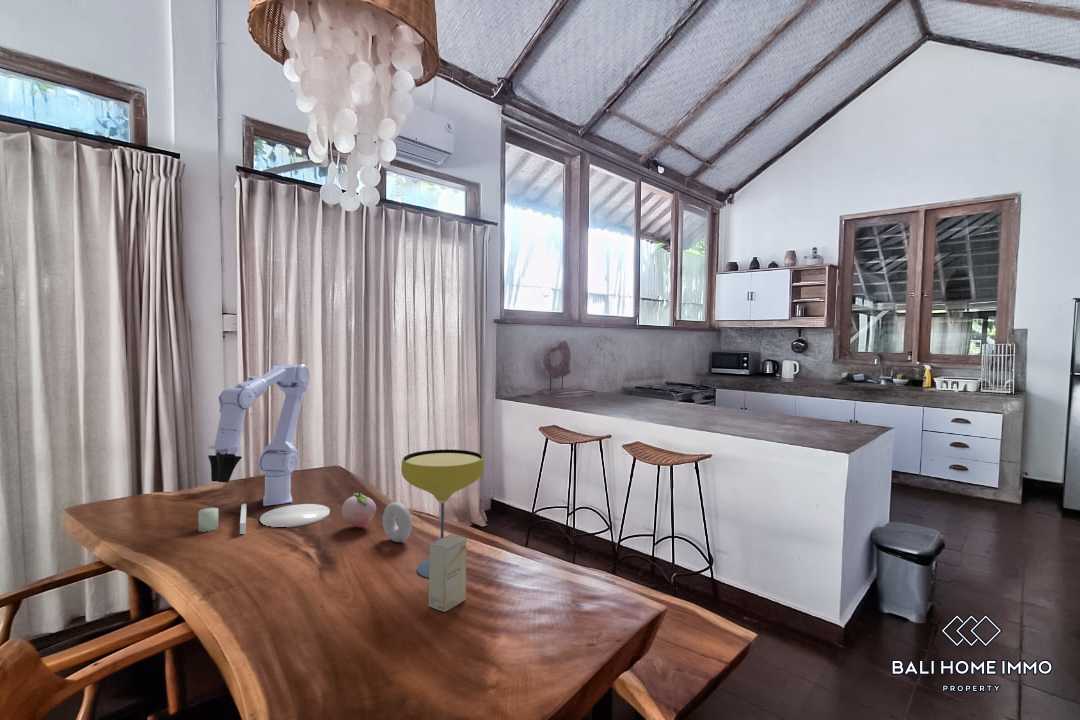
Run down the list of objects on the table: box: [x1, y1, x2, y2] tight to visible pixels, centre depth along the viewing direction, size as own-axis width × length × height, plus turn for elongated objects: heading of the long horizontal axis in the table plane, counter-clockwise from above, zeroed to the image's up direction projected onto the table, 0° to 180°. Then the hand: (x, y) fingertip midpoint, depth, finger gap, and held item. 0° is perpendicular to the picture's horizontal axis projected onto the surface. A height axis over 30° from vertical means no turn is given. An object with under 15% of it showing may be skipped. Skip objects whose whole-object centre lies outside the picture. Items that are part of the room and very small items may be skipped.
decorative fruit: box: [341, 491, 377, 529], centre depth 132 cm, size 9×8×10 cm
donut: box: [382, 501, 413, 543], centre depth 124 cm, size 10×3×10 cm, turn 53°
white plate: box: [259, 503, 331, 528], centre depth 141 cm, size 18×18×1 cm
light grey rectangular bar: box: [239, 503, 247, 535], centre depth 134 cm, size 18×1×3 cm, turn 30°
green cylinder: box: [197, 507, 219, 533], centre depth 130 cm, size 4×4×5 cm
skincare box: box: [428, 533, 468, 613], centre depth 94 cm, size 6×4×12 cm
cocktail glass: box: [400, 449, 485, 579], centre depth 109 cm, size 18×18×25 cm
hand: (219, 481), depth 130 cm, fingers open, 7 cm apart
